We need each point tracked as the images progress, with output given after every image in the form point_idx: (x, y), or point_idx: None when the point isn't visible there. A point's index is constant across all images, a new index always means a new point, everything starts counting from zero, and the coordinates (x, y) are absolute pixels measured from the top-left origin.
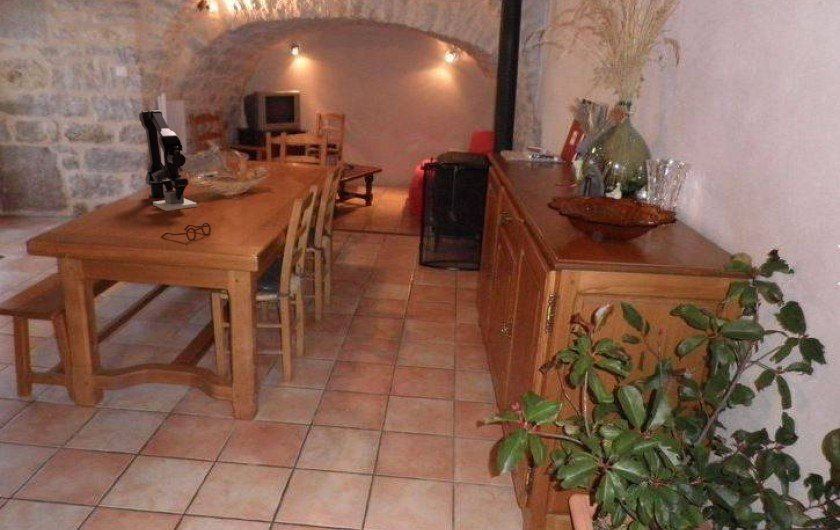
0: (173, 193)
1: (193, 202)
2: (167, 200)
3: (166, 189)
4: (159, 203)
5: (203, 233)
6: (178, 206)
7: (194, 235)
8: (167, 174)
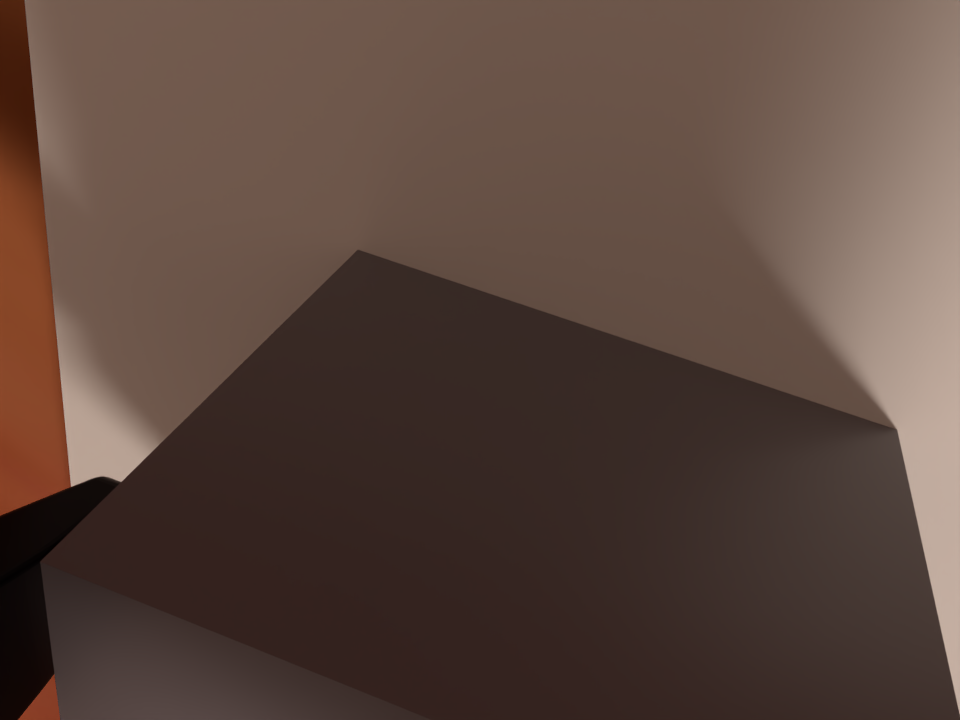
0: (71, 680)
1: None
2: (637, 410)
3: None
4: (939, 102)
5: None
6: (66, 248)
7: None
8: None
